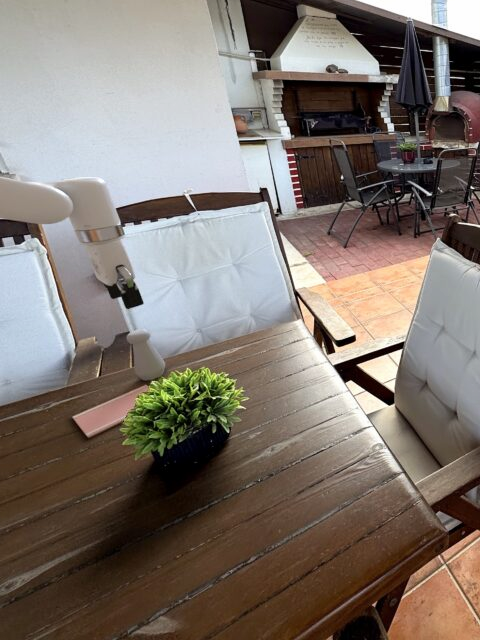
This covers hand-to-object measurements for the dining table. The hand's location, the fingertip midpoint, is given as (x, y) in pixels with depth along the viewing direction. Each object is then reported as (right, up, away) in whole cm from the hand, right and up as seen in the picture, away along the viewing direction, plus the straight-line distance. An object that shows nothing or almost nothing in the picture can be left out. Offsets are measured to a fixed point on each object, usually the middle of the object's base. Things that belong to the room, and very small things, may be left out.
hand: (127, 301), depth 96 cm
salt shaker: (0, -20, +7) cm, 21 cm away
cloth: (+3, -24, -5) cm, 25 cm away
